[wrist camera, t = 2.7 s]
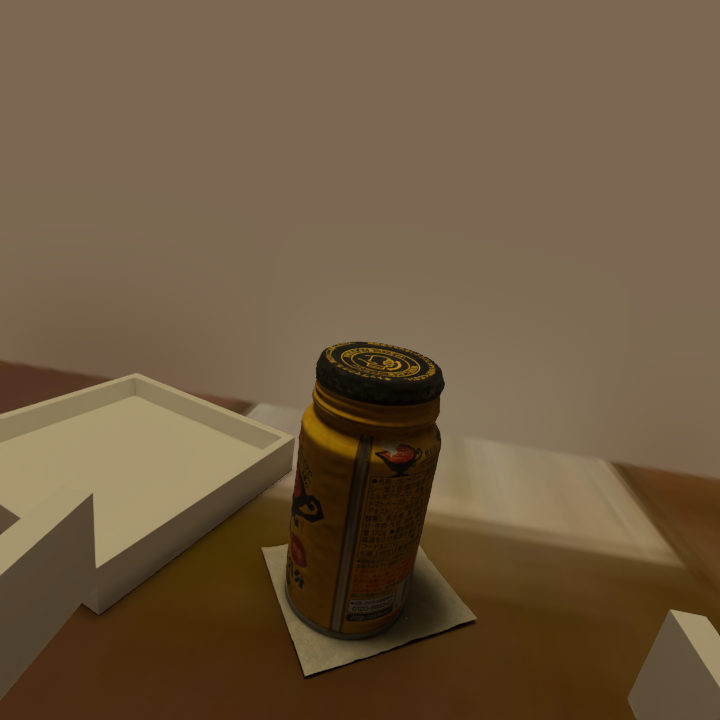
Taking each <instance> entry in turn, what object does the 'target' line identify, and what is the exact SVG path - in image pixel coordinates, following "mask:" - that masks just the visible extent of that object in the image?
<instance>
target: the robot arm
mask: <svg viewBox="0 0 720 720" xmlns="http://www.w3.org/2000/svg"><path fill="white" fill-rule="evenodd" d="M95 586H96V562H95V535H94V507H93V492H88V491H83V490H78V489H73V488H68V487H64V486H61V487H60V488H59V489H57V490H56V491H55V492H53V493H52V494H51V495H50V496H48V497H47V498H46V499H45V500H43V501H42V502H41V503H40V504H38V505H37V506H36V507H35V508H33V509H32V510H31V511H30V512H28V513H27V514H26V515H25V516H23V517H22V518H21V519H20V520H18V521H17V522H16V523H15V524H13V525H12V526H11V527H10V528H8V529H7V530H6V531H5V532H3V533H2V534H1V535H0V700H1V699H2V698H3V697H4V695H5V694H6V693H7V692H8V691H9V689H10V688H11V687H12V686H13V685H14V683H15V682H16V681H17V680H18V679H19V677H20V676H21V675H22V674H23V673H24V671H25V670H26V669H27V668H28V667H29V665H30V664H31V663H32V662H33V661H34V659H35V658H36V657H37V656H38V655H39V653H40V652H41V651H42V650H43V649H44V647H45V646H46V645H47V644H48V643H49V641H50V640H51V639H52V638H53V637H54V635H55V634H56V633H57V632H58V631H59V630H60V628H61V627H62V626H63V625H64V624H65V622H66V621H67V620H68V619H69V618H70V616H71V615H72V614H73V613H74V612H75V610H76V609H77V608H78V607H79V606H80V604H81V603H82V602H83V601H84V600H85V598H86V597H87V596H88V595H89V594H90V592H91V591H92V590H93V589H94V588H95ZM627 699H628V702H629V704H630V706H631V709H632V711H633V713H634V715H635V718H636V720H720V636H719V634H718V633H717V631H716V630H715V629H714V627H713V626H712V624H711V623H710V622H709V620H708V619H707V617H705V616H700V615H695V614H690V613H685V612H680V611H675V610H669V612H668V615H667V617H666V619H665V621H664V623H663V625H662V627H661V629H660V631H659V633H658V635H657V638H656V640H655V642H654V644H653V646H652V648H651V650H650V652H649V654H648V656H647V658H646V661H645V663H644V665H643V667H642V669H641V671H640V673H639V675H638V677H637V679H636V681H635V683H634V686H633V688H632V690H631V692H630V694H629V696H628V698H627Z"/></svg>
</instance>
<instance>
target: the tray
mask: <svg viewBox="0 0 720 720" xmlns="http://www.w3.org/2000/svg"><path fill="white" fill-rule="evenodd" d="M294 443H295V437H294V436H292V435H289V434H287V433H284V432H282V431H279V430H277V429H274V428H272V427H269V426H267V425H264V424H262V423H259V422H257V421H254V420H252V419H249V418H247V417H244V416H242V415H240V414H237V413H235V412H232V411H230V410H227V409H225V408H222V407H220V406H217V405H215V404H212V403H210V402H207V401H205V400H202V399H200V398H197V397H195V396H192V395H190V394H187V393H185V392H182V391H180V390H177V389H175V388H172V387H170V386H168V385H165V384H162V383H160V382H158V381H155V380H152V379H150V378H148V377H145V376H143V375H140V374H138V373H135V374H132V375H129V376H125V377H122V378H119V379H115V380H112V381H109V382H106V383H102V384H99V385H96V386H92V387H89V388H86V389H83V390H79V391H76V392H73V393H69V394H66V395H63V396H60V397H56V398H53V399H50V400H47V401H43V402H40V403H37V404H33V405H30V406H27V407H24V408H20V409H17V410H14V411H10V412H7V413H4V414H1V415H0V535H1V534H2V533H3V532H5V531H6V530H7V529H8V528H10V527H11V526H12V525H13V524H15V523H16V522H17V521H18V520H20V519H21V518H22V517H23V516H25V515H26V514H27V513H28V512H30V511H31V510H32V509H33V508H35V507H36V506H37V505H38V504H40V503H41V502H42V501H43V500H45V499H46V498H47V497H48V496H50V495H51V494H52V493H53V492H55V491H56V490H57V489H59V488H60V487H61V486H64V487H68V488H73V489H78V490H83V491H88V492H93V507H94V535H95V562H96V586H95V588H94V589H93V590H92V591H91V592H90V594H89V595H88V596H87V597H86V598H85V600H84V601H83V602H82V603H83V604H84V605H85V606H87V607H88V608H90V609H91V610H92V611H94V612H95V613H96V614H98V615H100V614H102V613H103V612H104V611H105V610H107V609H108V608H109V607H111V606H112V605H113V604H115V603H116V602H117V601H119V600H120V599H121V598H123V597H124V596H125V595H127V594H128V593H129V592H131V591H132V590H133V589H135V588H136V587H137V586H138V585H140V584H141V583H142V582H144V581H145V580H146V579H148V578H149V577H150V576H152V575H153V574H154V573H156V572H157V571H158V570H160V569H161V568H162V567H164V566H165V565H166V564H168V563H169V562H170V561H171V560H173V559H174V558H175V557H177V556H178V555H179V554H181V553H182V552H183V551H185V550H186V549H187V548H189V547H190V546H191V545H193V544H194V543H195V542H197V541H198V540H199V539H200V538H202V537H203V536H204V535H206V534H207V533H208V532H210V531H211V530H212V529H214V528H215V527H216V526H218V525H219V524H220V523H222V522H223V521H224V520H226V519H227V518H228V517H230V516H231V515H232V514H233V513H235V512H236V511H237V510H239V509H240V508H241V507H243V506H244V505H245V504H247V503H248V502H249V501H251V500H252V499H253V498H255V497H256V496H257V495H259V494H260V493H261V492H263V491H264V490H265V489H266V488H268V487H269V486H270V485H272V484H273V483H274V482H276V481H277V480H278V479H280V478H281V477H282V476H284V475H285V474H286V473H288V472H289V471H290V470H292V462H293V452H294Z"/></svg>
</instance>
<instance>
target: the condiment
mask: <svg viewBox="0 0 720 720" xmlns="http://www.w3.org/2000/svg"><path fill="white" fill-rule="evenodd" d="M316 379H317V380H316V383H315V387H314V390H313V394H312V396H313V402H312V404H311V405H310V406H308V408H307V409H306V411H305V412H304V415H303V417H302V421H301V424H302V425H301V431H300V435H299V450H298V461H297V470H296V478H295V486H294V493H293V497H292V498H293V505H292V515H291V520H290V530H289V533H288V544H285V545H282V546H277V547H269V548H265V547H262V551H263V554H264V557H265V560H266V563H267V567H268V570H269V572H270V576H271V579H272V582H273V586H274V588H275V591H276V595H277V598H278V601H279V603H280V606H281V609H282V612H283V615H284V617H285V621H286V624H287V626H288V629H289V632H290V634H291V638H292V640H293V641H294V645H295V648H296V651H297V654H298V657H299V659H300V662H301V665H302V668H303V672H304V675H305V676H307V675H310V674H313V673H316V672H320V671H323V670H327V669H330V668H333V667H337V666H340V665H344V664H347V663H350V662H352V661H354V660H356V659H362V658H366V657H369V656H372V655H375V654H378V653H379V652H381V651H387V650H389V649H391V648H394V647H396V646H399V645H403V644H405V643H407V642H409V641H411V640H413V639H416V638H422V637H425V636H428V635H431V634H434V633H438V632H442V631H444V630H447V629H449V628H451V627H453V626H456V625H458V624H460V623H464V622H468V621H471V620H474V619H477V618H476V616H475V615H474V614H473V613H472V612H471V610H470V609H469V608H468V607H467V606H466V605H465V604H464V603H463V602H462V601H461V599H460V598H459V597H458V595H457V594H456V593H455V592H454V591H453V589H452V588H451V586H450V585H449V584H448V583H447V581H446V580H445V579H444V578H443V577H442V576H441V574H440V573H439V571H438V570H437V569H436V567H435V566H434V565H433V563H432V562H431V561H430V560H429V559H428V558H427V556H426V554H425V553H424V551H423V550H422V548H421V547H420V545H419V542H420V538H421V534H422V529H423V525H424V520H425V515H426V511H427V506H428V502H429V498H430V493H431V488H432V483H433V479H434V475H435V471H436V466H437V462H438V457H439V452H440V449H441V437H440V431H439V429H438V427H437V425H436V423H435V421H436V419H437V417H438V415H439V412H440V394H441V392H442V390H443V389H444V385H445V383H444V380H443V376H442V371H441V368H439V367H438V365H437V364H435V363H434V361H432V360H430V359H429V358H427V357H424V356H423V355H421V354H419V353H417V352H414V351H411V350H408V349H404V348H399V347H396V346H392V345H387V344H382V343H372V342H348V343H341V344H336V345H333V346H332V347H329V348H326V349H325V350H324V351H323V352H322V353H321V356H320V358H319V360H318V362H317V367H316ZM404 617H408V619H405V618H404Z"/></svg>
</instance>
